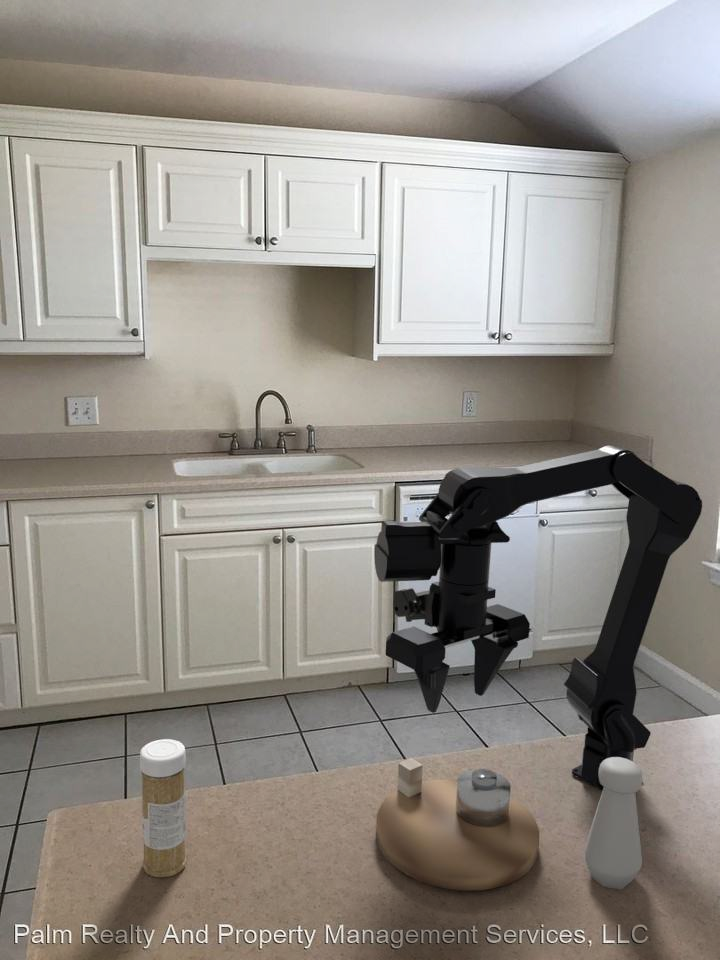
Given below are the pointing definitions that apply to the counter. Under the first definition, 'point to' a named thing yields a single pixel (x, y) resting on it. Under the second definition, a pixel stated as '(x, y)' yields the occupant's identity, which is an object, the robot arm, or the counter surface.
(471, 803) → the cover
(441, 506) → the robot arm
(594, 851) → the salt shaker
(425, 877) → the disc
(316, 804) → the counter surface
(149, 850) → the spice bottle
